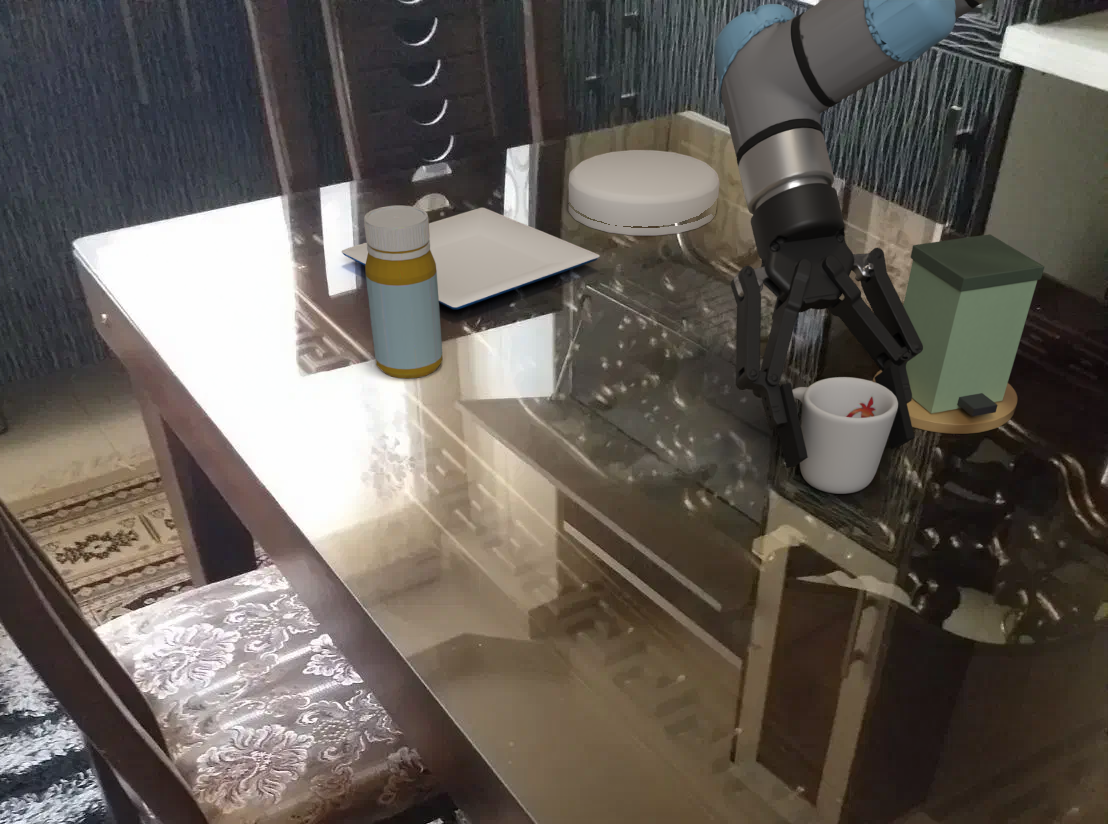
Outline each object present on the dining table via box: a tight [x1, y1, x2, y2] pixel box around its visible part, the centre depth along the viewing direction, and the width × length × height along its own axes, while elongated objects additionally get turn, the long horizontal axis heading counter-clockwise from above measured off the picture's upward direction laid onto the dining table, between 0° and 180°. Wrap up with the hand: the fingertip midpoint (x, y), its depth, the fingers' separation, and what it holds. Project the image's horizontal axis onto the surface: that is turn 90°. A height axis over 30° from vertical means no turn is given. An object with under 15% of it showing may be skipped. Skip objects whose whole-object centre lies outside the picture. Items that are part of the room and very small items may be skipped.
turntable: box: [871, 369, 1018, 435], centre depth 114 cm, size 14×14×1 cm
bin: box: [902, 234, 1045, 416], centre depth 108 cm, size 11×8×13 cm
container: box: [567, 149, 720, 237], centre depth 152 cm, size 20×20×5 cm
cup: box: [792, 376, 898, 495], centre depth 101 cm, size 11×8×8 cm
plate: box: [341, 207, 601, 310], centre depth 138 cm, size 22×22×2 cm
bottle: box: [363, 205, 443, 380], centre depth 115 cm, size 7×7×15 cm
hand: (850, 452), depth 99 cm, fingers open, 10 cm apart
